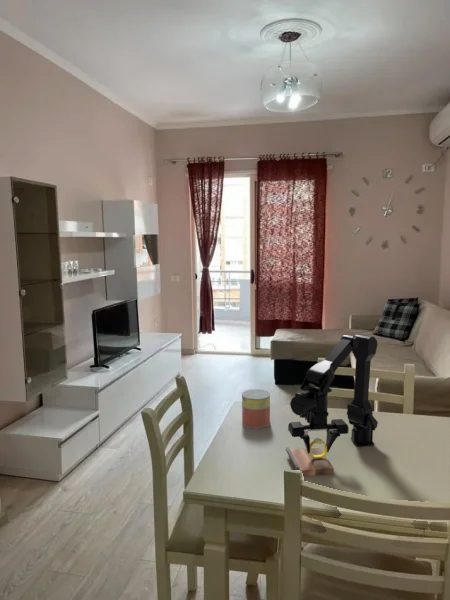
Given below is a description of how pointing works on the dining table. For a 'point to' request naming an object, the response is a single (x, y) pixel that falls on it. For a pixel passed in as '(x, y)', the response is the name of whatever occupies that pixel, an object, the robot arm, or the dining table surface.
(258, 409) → the canned food
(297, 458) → the copper slab
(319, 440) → the watch
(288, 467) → the dining table surface
